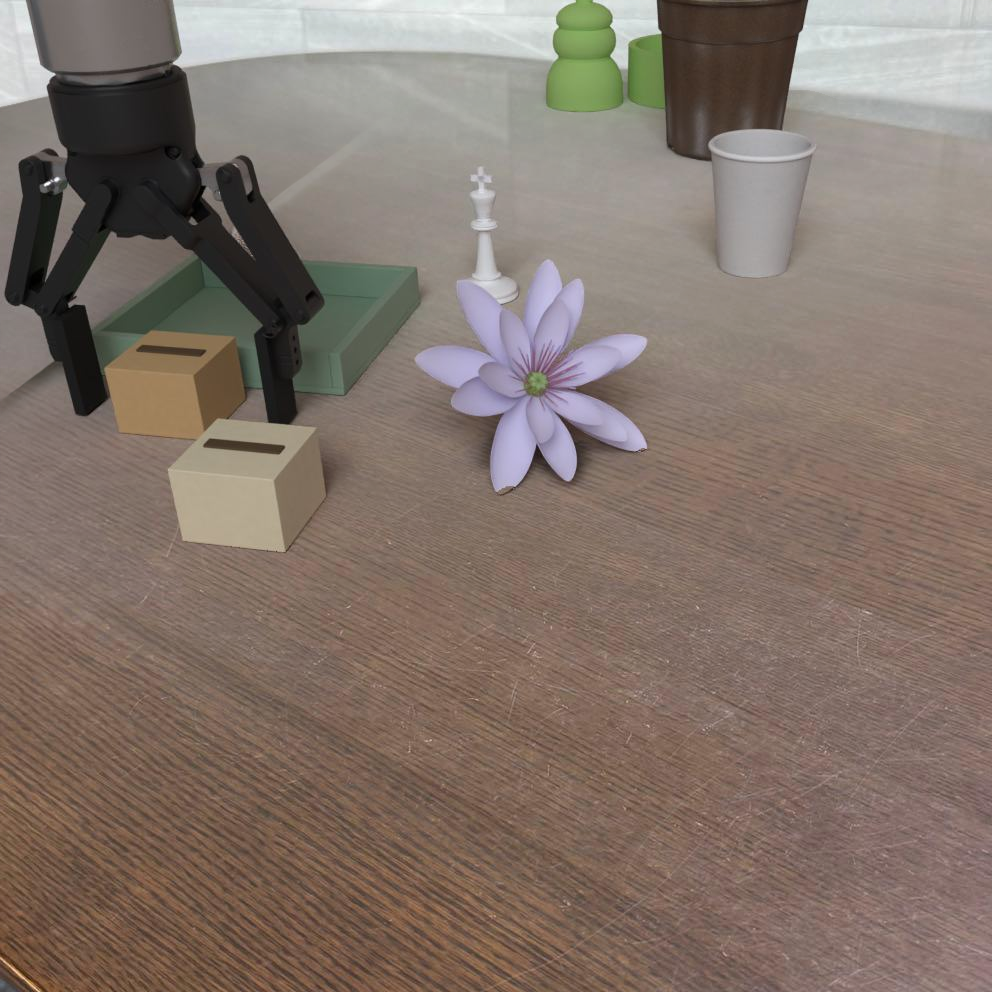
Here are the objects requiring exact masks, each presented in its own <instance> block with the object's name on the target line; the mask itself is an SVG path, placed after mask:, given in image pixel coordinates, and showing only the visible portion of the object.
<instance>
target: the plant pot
mask: <svg viewBox="0 0 992 992" xmlns="http://www.w3.org/2000/svg"><path fill="white" fill-rule="evenodd" d="M808 4H809V0H656V13H657V28H658V30H659V31H660V34H661V36H662V55H663V72H664V93H665V111H664V112H665V132H666V133H665V135H666V136H665V138H666V139H665V141H666V146H667V147H668V148H669V149H673V150H674V153H676V154H677V155H680V156H685V157H687V158H692V159H696V160H700V161H701V160H702V161H709V162H712V155H711V151H710V149H709V147H708V144H709V142H710V140H711V139H713V138H714V137H715V136H717V135H719V134H722V133H726V132H731V131H737V130H747V129H771V130H782V131H783V127H784V119H785V114H786V109H787V102H788V98H789V97H788V96H789V92H790V91H789V90H790V86H791V85H790V84H791V79H792V74H793V69H794V63H795V58H796V52H797V47H798V41H799V36H800V33H801V32H802V31H803V30H804V25H805V19H806V14H807V10H808Z"/></svg>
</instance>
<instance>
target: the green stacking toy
mask: <svg viewBox="0 0 992 992" xmlns="http://www.w3.org/2000/svg"><path fill="white" fill-rule="evenodd" d="M613 19H614V17H613V14H612V12H611V10H610V9H609V8H607V7H606V6H605V5H604V4H601V3H598V2H595V1H594V0H575V2H571V3H568V4H566V5H565V6H563V7H562V8H561V9H560V10H559V11H558V12H557V13H556V15H555V24H556V26H558V27H557V28H556V29H555V30H554V32H553V35H552V47H553V50H554V52H555V54H556V55H557V58H556V60H554V62H553V63H552V64H551V66H550V68H549V71H548V73H547V76H546V81H545V99H546V100H545V101H546V102H545V103H546V106H547V107H549V108H552V109H555V110H559V111H565V112H574V113H575V112H579V113H580V112H581V113H585V112H586V113H587V112H590V113H591V112H600V111H607V110H612V109H615V108H618V107H620V106H621V105H622V104H623V103H624V102H623V101H624V98H623V97H624V86H623V85H624V83H623V76H622V72H621V70H620V68H619V65H618V64H617V61H615V60H614V58H612V57H611V55H612V54H613V52H614V51H615V48H616V47H617V46H616V45H617V35H616V32H615V30H614V28H612V26H611V25H612V24H613V21H614V20H613ZM627 44H628V48H627V50H628V51H627V52H628V53H627V98H628V99H629V100H630V101H631V102H633V103H635V104H638V105H640V106H641V105H642V106H645V107H650V108H657V109H665V93H664V72H663V55H662V36H661V33H656V34H655V33H654V34H650V35H645V36H639V37H637V38H634V39H632V40H630V41H628V43H627Z"/></svg>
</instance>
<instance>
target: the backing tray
mask: <svg viewBox="0 0 992 992" xmlns="http://www.w3.org/2000/svg"><path fill="white" fill-rule="evenodd" d="M252 258H253V259H254V257H253V256H252ZM254 260H255V259H254ZM300 260H301V261H302V263H303V265H304V266H305V268H306V270H307V271H308V273H309V274H310V276H311V278H312V279H313V281H314V283H315V284H316V286H317V288H318V289H319V291H320V293H321V294H322V296H323V298H324V301H325V304H324V306H323V308H322V309H321V310H320V311H319V312H318V313H317V314H316V315H315V316H314V317H313V318H312V319H311V320H310V321H309V322H308V323H307V324H305V325H299V324H298V325H297V328H298V335H299V342H300V349H301V356H302V366H301V370H300V371H299V372H298V373H297V374H296V375H295V376H294V378H293V379H292V380H293V386H294V392H296V393H297V392H298V393H299V392H300V393H309V394H310V393H312V394H320V395H321V394H322V395H335V396H345V395H346V394H347V393H348V392H349V391H350V390H351V388H352V387H353V386H354V384H355V383H356V382H357V381H358V380H359V378H361V376H362V375H363V374H364V373H365V371H366V370H367V369H368V368H369V366H370V365H372V363H373V362H374V360H375V359H377V357H378V355H379V354H380V353H381V352H382V351H383V350H384V349H385V347H386V346H387V344H389V342H390V341H391V340H392V338H393V337H394V336H395V335H396V334H397V333H398V331H399V330H400V329H401V327H402V326H403V325H404V324H405V323H406V321H407V320H408V319H409V318H410V317H411V315H412V314H413V313H414V311H415V310H416V309H417V308H418V307H419V306H420V304H421V297H420V285H419V275H418V274H419V273H418V266H411V265H408V266H407V265H393V264H379V263H377V264H376V263H361V262H346V261H345V262H344V261H343V262H342V261H329V260H310V259H300ZM255 261H256V260H255ZM262 326H263V325H262V324H261V323H260V322H259V321H258V320H257V319H256V317H255V316H254V315H253V314H252V313H251V312H250V311H249V310H248V309H247V308H246V307H245V306H244V305H243V304H242V303H241V302H240V301H239V299H238V298H237V297H236V296H235V295H234V294H233V293H232V292H231V291H230V290H229V289H228V288H227V287H226V286H225V285H224V284H223V283H222V282H221V280H220V279H219V278H218V277H217V276H216V275H215V274H214V273H213V272H212V271H211V270H210V269H209V268H208V267H207V266H206V265H205V264H204V262H203V261H202V260H201V259H200V258H199V257H198V256H197V255H196V254H195V253H194V252H193V254H191V255H190V256H189V257H187V258H186V259H185V260H184V261H182V262H181V263H179V264H178V265H176V266H175V267H174V268H173V269H171V270H170V271H168V272H167V273H165V274H164V275H163V276H162V277H160V278H159V279H157V280H156V281H155V282H154V283H152V284H151V285H148V287H146V288H145V289H144V290H143V291H141V292H140V293H139V294H137V295H135V296H133V298H132V299H130V300H129V301H128V302H126V303H125V304H124V305H122V306H120V307H119V308H117V309H116V310H115V311H114V312H112V313H111V314H110V315H109V316H107V317H106V318H105V319H103V320H102V321H100V322H99V323H97V324H96V325H95V326H94V327H92V328H91V332H92V336H93V340H94V344H95V349H96V353H97V357H98V361H99V365H100V369H101V373H102V376H106V374H105V370H104V368H105V367H106V366H107V365H109V364H110V363H111V362H112V361H114V360H115V359H116V358H117V357H119V356H120V355H121V354H122V353H124V352H125V351H126V350H127V349H129V348H130V347H131V346H132V345H134V344H135V343H136V342H137V341H139V340H140V339H141V338H142V337H144V336H145V335H146V334H147V333H149V332H150V331H151V330H153V331H166V332H179V333H193V334H206V335H219V336H232V337H235V338H236V344H237V349H238V355H239V361H240V367H241V373H242V379H243V385H244V388H253V389H261V390H263V388H262V382H261V376H260V369H259V363H258V357H257V351H256V345H255V339H254V334H255V333H256V332H257V331H258V330H259V329H260V328H261V327H262Z"/></svg>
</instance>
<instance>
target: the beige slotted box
mask: <svg viewBox="0 0 992 992" xmlns="http://www.w3.org/2000/svg"><path fill="white" fill-rule="evenodd" d="M319 440H320V439H319V434H318V427H315V426H307V425H296V424H287V425H285V424H274V423H268V422H263V421H250V420H241V419H240V420H239V419H229V418H227V419H219V418H218V419H217V420H216V421H215V422H214V423H213V424H212V425H211V426H210V427H209V428H208V429H207V430H206V431H205V432H204V433H203V434H202V435H201V436H200V437H199V438H198V439H197V440H194V442H193V443H191V445H190V446H189V447H188V448H187V449H186V450H185V451H184V452H183V453H182V454H181V455H180V456H179V457H178V458H177V459H176V460H175V461H174V462H173V463H172V464H171V465H170V466H169V467H168V468H167V474H168V480H169V483H170V488H171V493H172V498H173V502H174V507H175V511H176V515H177V521H178V525H179V530H180V535H181V539H182V542H186V541H187V542H188V543H195V544H205V545H212V546H220V547H221V546H222V547H224V546H225V547H231V546H232V547H231V548H239V547H240V548H241V549H249V550H258V551H267V550H268V551H267V552H275V553H283V552H285V553H286V552H287V551H288V550H289V548H290V547H291V546H292V544H293V543H294V541H295V540H296V539H297V537H298V536H299V535H300V533H301V532H302V531H303V529H304V528H305V526H307V524H308V522H309V521H310V519H311V518H312V517H313V515H314V514H315V513H316V512H317V510H318V509H319V507H320V506H321V504H322V503H323V502H324V501H325V499H326V498H327V493H326V491H327V490H326V485H325V478H324V477H325V476H324V470H323V462H322V456H321V455H322V454H321V448H320V441H319ZM187 542H186V543H187ZM289 546H290V547H289ZM286 550H287V551H286ZM276 551H277V552H276Z"/></svg>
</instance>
